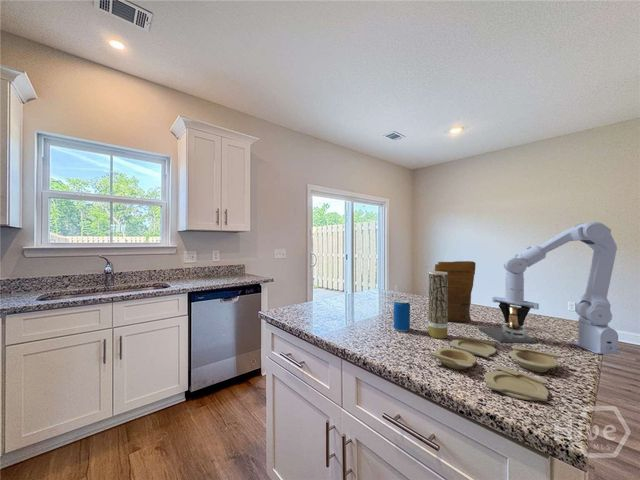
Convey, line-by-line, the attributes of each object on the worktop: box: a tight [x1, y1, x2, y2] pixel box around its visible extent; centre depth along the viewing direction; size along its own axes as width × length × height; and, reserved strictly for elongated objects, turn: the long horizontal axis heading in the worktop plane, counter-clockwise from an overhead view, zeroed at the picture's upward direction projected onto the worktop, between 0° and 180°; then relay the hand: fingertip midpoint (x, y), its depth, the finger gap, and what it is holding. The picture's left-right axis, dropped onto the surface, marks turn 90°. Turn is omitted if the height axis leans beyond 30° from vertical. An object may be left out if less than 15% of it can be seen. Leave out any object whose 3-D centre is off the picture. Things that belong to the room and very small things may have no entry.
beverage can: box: [393, 299, 411, 333], centre depth 111 cm, size 6×6×12 cm
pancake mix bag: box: [433, 260, 477, 323], centre depth 124 cm, size 7×19×28 cm, turn 84°
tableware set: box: [427, 335, 562, 402], centre depth 81 cm, size 35×29×4 cm
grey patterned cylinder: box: [427, 270, 448, 339], centre depth 104 cm, size 7×7×25 cm
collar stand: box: [477, 323, 537, 344], centre depth 105 cm, size 14×13×4 cm
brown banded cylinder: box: [507, 305, 522, 330], centre depth 103 cm, size 4×4×9 cm
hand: (514, 324), depth 103 cm, fingers closed on brown banded cylinder, 4 cm apart
